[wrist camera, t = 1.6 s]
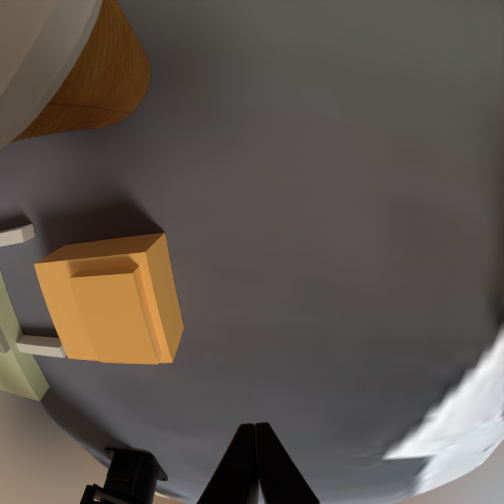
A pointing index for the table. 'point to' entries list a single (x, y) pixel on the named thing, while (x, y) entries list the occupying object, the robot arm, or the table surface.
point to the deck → (21, 339)
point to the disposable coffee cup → (67, 67)
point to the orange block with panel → (113, 299)
